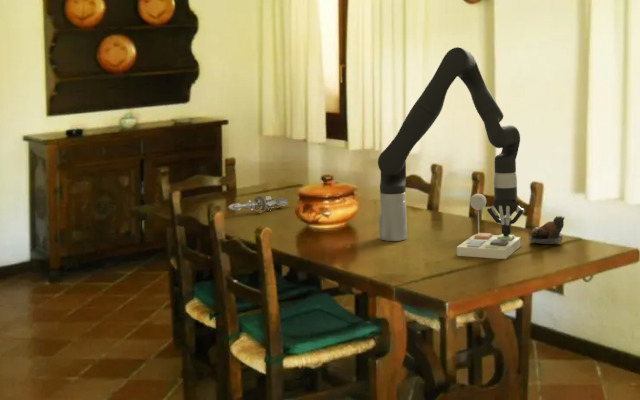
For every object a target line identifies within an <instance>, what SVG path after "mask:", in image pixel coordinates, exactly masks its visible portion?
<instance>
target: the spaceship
mask: <svg viewBox="0 0 640 400" xmlns="http://www.w3.org/2000/svg"><path fill="white" fill-rule="evenodd" d="M288 201H289V199H287V198H284V197H282V196H280V197H279V198H277V199H273V198H272V197H271V196H270V195H269V196H265V198H264V196H262V195H256V196H255V198H253V201H251V199H248V200H247V202H246V203H243V204H241V203H239V202H238V203H231V204H229V205H228V206H227V207H228V210H231V211H235V212H236V211H241V209H245V210H249V211H250V212H252V211H254V209H256V210H258V209H259V210H263V211H264V212H265V211H266V209H267V210H269V208H271V207H272V208H275V206H283V207H285V205H286V206H288V205H289V204H290V203H289V202H288Z"/></svg>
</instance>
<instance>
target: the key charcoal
mask: <svg viewBox="0 0 640 400" xmlns="http://www.w3.org/2000/svg"><path fill="white" fill-rule="evenodd" d="M507 244H508V240H499V239H494V240H493V241H491V242H490V245H495V246H506V245H507Z"/></svg>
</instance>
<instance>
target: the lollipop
mask: <svg viewBox="0 0 640 400" xmlns="http://www.w3.org/2000/svg"><path fill="white" fill-rule="evenodd" d="M469 204H470V207H471V208H472V209H474V210H476V211H477V234H478V233H480V211H481V210H483V209H484V208H485V207H486V205H487V198H486V196H485V195H483V194H482V193H474V194H473V195H472V196H471V197H470V200H469Z"/></svg>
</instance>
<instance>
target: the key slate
mask: <svg viewBox="0 0 640 400" xmlns="http://www.w3.org/2000/svg"><path fill="white" fill-rule="evenodd" d="M483 243H485V241H475V240H471V241H470V242H468V243H467V244H480V245H482V244H483Z"/></svg>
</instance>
